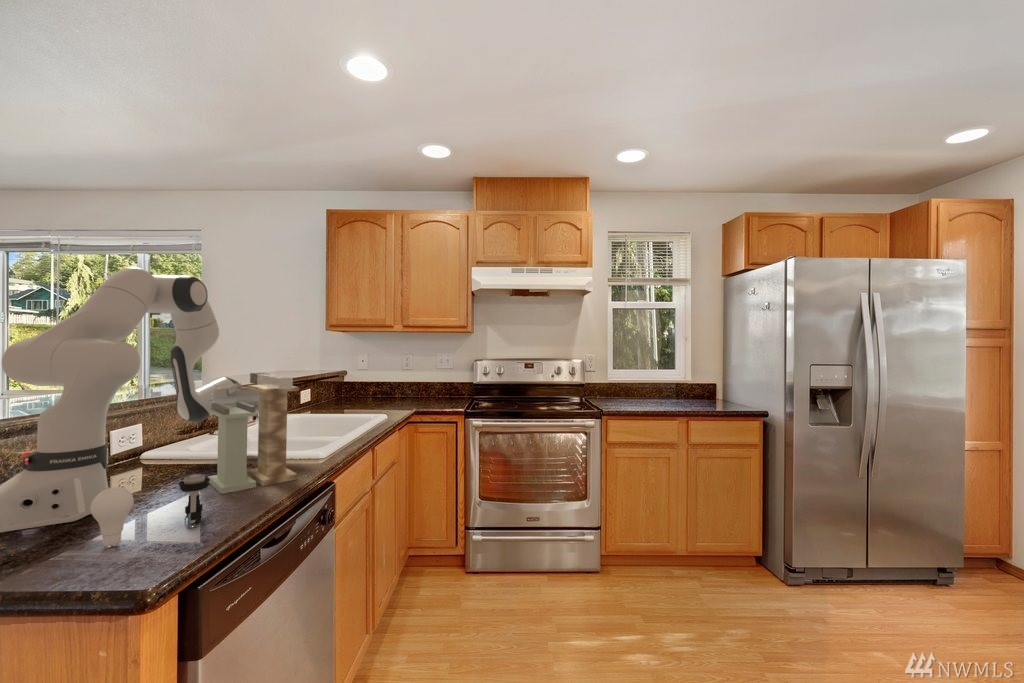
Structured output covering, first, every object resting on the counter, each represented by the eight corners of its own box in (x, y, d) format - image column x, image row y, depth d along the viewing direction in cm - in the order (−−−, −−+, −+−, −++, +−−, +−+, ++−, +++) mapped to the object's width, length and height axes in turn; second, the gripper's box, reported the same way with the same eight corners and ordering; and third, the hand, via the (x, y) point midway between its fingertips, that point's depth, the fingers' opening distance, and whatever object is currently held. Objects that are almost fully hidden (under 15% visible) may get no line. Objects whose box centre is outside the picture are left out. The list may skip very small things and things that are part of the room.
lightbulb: (114, 538, 88) (115, 482, 88) (141, 540, 87) (142, 483, 87) (80, 552, 82) (81, 492, 82) (109, 555, 81) (110, 494, 81)
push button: (207, 527, 93) (208, 479, 94) (175, 532, 91) (176, 483, 91) (209, 517, 99) (210, 471, 99) (179, 521, 96) (180, 474, 97)
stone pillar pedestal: (262, 486, 121) (263, 389, 121) (246, 474, 131) (248, 385, 131) (297, 479, 127) (298, 387, 127) (279, 469, 137) (281, 383, 137)
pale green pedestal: (221, 494, 114) (222, 409, 114) (208, 481, 124) (209, 403, 124) (256, 487, 120) (257, 406, 120) (240, 476, 130) (242, 401, 130)
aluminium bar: (278, 389, 121) (278, 378, 121) (250, 382, 139) (250, 373, 139) (292, 388, 123) (292, 377, 123) (262, 382, 141) (262, 372, 141)
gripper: (205, 396, 142) (215, 376, 134) (275, 392, 157) (288, 374, 148) (207, 415, 140) (217, 396, 132) (278, 409, 154) (291, 392, 146)
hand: (255, 384), depth 140 cm, fingers open, 8 cm apart
